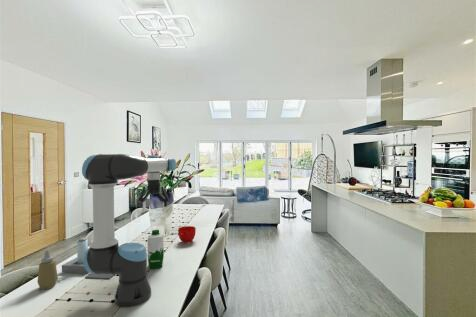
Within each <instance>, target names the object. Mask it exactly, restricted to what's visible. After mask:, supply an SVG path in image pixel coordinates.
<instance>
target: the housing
mask: <svg viewBox="0 0 476 317" xmlns="http://www.w3.org/2000/svg"><path fill="white" fill-rule="evenodd" d="M61 273H62V274H63V273H65V274H67V273H68V274H69V273H70V274H88V275H89V274H90V272H88V271H87V270H86V269H85V267H84V264H77V257H76V258H72V260H69V261H67V262H66V263H63V264H62V265H61Z"/></svg>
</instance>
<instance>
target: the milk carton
mask: <svg viewBox="0 0 476 317" xmlns="http://www.w3.org/2000/svg"><path fill="white" fill-rule="evenodd" d="M164 252H165V251H164V235H163V232H160V230H159V229H153V230H152V231H151V233H149V234H148V236H147V262H148V263H147V264H148V269H149V270H153V269H160V268H163V264H164V263H163V262H164V257H165V256H164Z"/></svg>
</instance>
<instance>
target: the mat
mask: <svg viewBox="0 0 476 317" xmlns="http://www.w3.org/2000/svg"><path fill="white" fill-rule="evenodd" d="M114 276H116V275H114V274H95V273H89V274H88V275H86V276H85V277H84V279H97V280H111V279H112V278H113V277H114Z"/></svg>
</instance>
